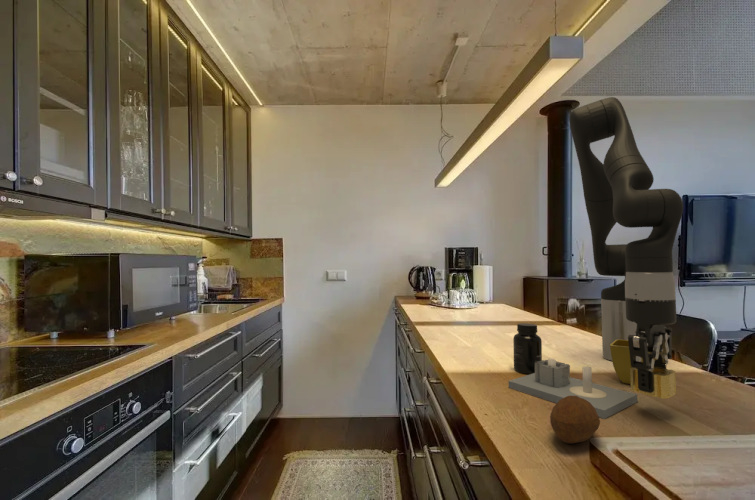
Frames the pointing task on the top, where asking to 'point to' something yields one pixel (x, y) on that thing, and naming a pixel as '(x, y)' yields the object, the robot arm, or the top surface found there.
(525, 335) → the supplement bottle
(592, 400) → the pegboard
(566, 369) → the steel gear
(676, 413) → the top surface
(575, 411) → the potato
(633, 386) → the brass gear
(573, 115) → the robot arm
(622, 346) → the flower pot
